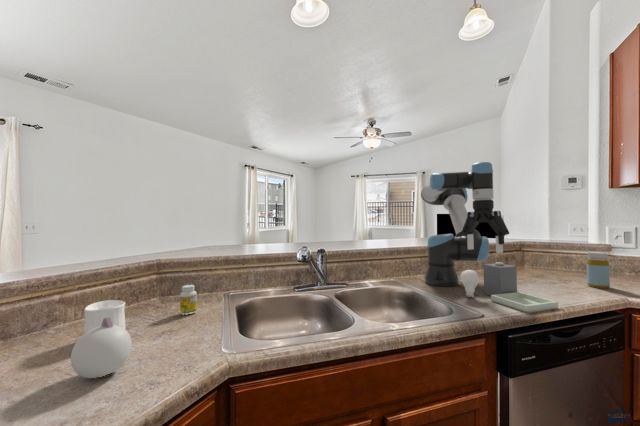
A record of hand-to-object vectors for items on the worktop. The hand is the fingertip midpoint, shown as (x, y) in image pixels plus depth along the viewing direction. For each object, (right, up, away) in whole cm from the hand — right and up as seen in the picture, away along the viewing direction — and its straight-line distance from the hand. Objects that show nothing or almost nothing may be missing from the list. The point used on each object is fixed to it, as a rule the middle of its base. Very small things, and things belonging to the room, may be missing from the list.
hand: (484, 251), depth 117 cm
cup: (-129, -20, -38) cm, 136 cm away
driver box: (+5, -17, -3) cm, 18 cm away
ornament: (-115, -19, -56) cm, 130 cm away
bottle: (+54, -17, +7) cm, 57 cm away
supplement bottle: (-115, -20, -18) cm, 118 cm away
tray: (+5, -17, -15) cm, 24 cm away
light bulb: (-9, -18, -6) cm, 21 cm away
